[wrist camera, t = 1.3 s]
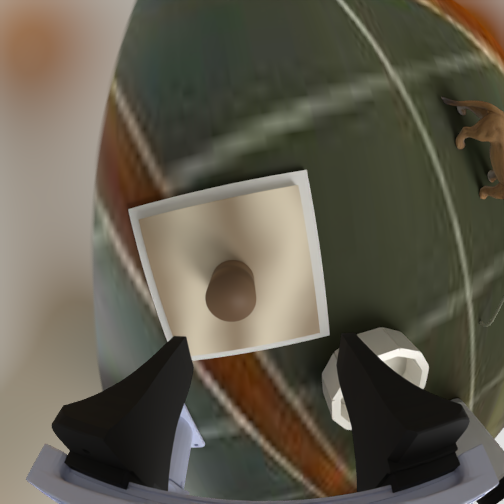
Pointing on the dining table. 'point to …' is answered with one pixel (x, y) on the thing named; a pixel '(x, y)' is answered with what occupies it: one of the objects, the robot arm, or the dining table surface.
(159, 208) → the light grey square plate
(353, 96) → the dining table surface
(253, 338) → the lid
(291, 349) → the dining table surface
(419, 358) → the bowl
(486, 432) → the travel mug
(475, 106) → the lion figurine
